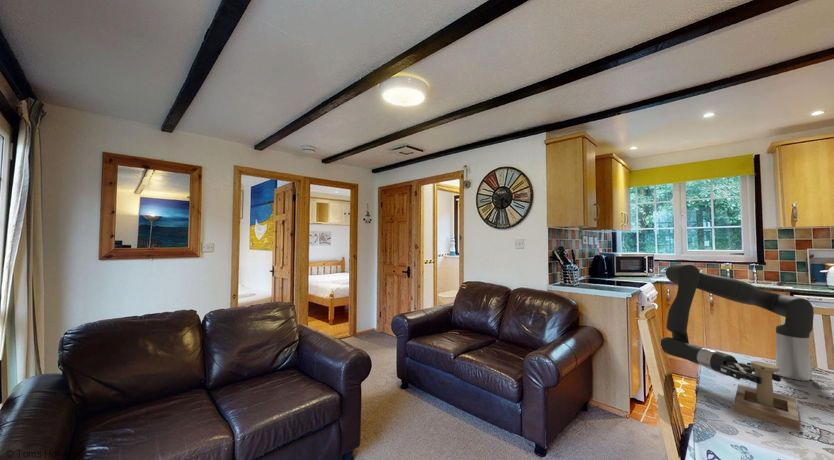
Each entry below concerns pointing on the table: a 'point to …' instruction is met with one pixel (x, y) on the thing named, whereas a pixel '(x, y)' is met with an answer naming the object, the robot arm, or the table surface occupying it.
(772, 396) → the handle
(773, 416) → the wooden rectangular frame
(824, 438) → the table surface
